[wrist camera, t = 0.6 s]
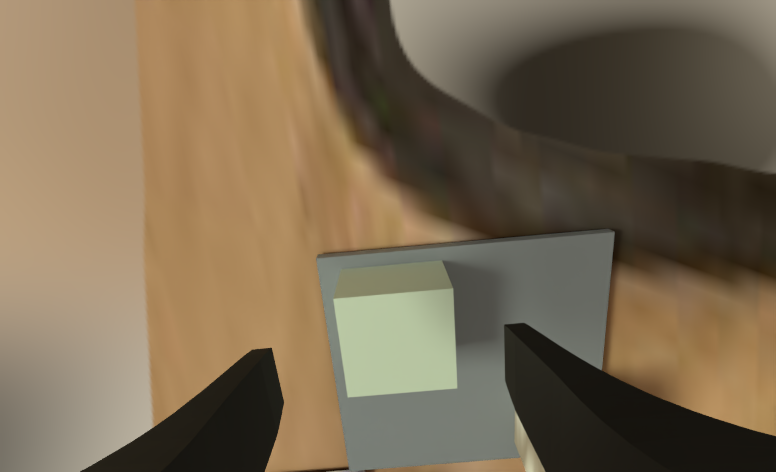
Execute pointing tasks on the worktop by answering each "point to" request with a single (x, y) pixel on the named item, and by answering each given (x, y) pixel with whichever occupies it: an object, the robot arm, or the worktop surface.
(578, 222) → the worktop surface
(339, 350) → the build plate
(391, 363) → the base block
